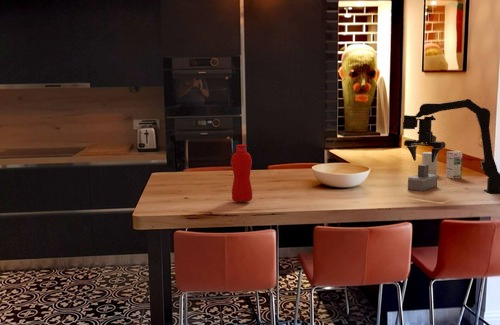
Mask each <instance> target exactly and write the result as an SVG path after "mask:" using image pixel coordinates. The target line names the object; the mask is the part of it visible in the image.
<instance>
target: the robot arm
mask: <svg viewBox="0 0 500 325" xmlns="http://www.w3.org/2000/svg"><path fill="white" fill-rule="evenodd" d="M464 108H465V109H468V110H469V111H471V112H472V113H473V114H475V117H476V120H477V123H478V126H479V129H480V137H481V144H482V153H483V159H482V160H480V162H479V163H480V164H481V167H480V169H481V172H483V173H484V175H485V176H487V182H486V184H487V185H486V189H483V191H484V192H486V193H488V194H500V172H499V171H498V166H497V164H496V162H495V159H494V154H493V147H492V146H493V145H492V140H491V131H490V124H491V122H490V121H491V111H490V110H489V109H488V108H486V107H481V106H480V105H478V104H476V103H475V102H473V101H472V100H471V99H470V98H465V99H460V100H454V101H448V102H440V103H435V102H433V103H430V102H426V103H422V104H421V105H420V107H419V111H418V112H417V113H416V114H415V115H409V114H408V115H407V114H404V115H403V121H402V129H403V130H415V129H416V128H418V131H417V135H418V139H410V138H409V139H405V140H404V142H403V146H405V147H406V148H407V149H408V151H409V152H410V154H411V158H412V160H413V161H414V162H416V160H417V148H418V146H422V147H423V146H424V147H432V148H431V152H432V163H433V162H434V160H435V158H436V155H437V156H438V153H439V152H440V150H443V149H445V148H446V143H445V141H439V140H437V136H436V135H433V131H432V122H433V121H436V120H437V119H436V117H434V115H433V114H436V113H439V112H442V111H450V110H458V109H464ZM430 115H431V116H430ZM423 116H424V118H422V117H423Z"/></svg>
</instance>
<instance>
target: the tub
mask: <svg viewBox="0 0 500 325" xmlns="http://www.w3.org/2000/svg"><path fill="white" fill-rule="evenodd" d="M437 187H438V177H435V178H432V179H429V180H425V181H416V180H408V179H407V190H408V191H413V192H414V191H415V192H421V193H422V192H425V191H428V190H431V189H435V188H437Z"/></svg>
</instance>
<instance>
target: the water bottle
mask: <svg viewBox="0 0 500 325" xmlns="http://www.w3.org/2000/svg"><path fill="white" fill-rule="evenodd" d="M235 148H236V151H235V152H234V153H233V154H232V156H231V162H230V164H231V168H232V174H233V180H232V181H233V182H232V187H231V199H232V201H233V202H236V203H237V202H250V201H253V187H252V184H251V179H250V178H251V171H252V164H253V161H252V155H251V154H250V153H249V152H248V151H247V145H246V144H236V147H235Z"/></svg>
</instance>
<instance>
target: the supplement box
mask: <svg viewBox="0 0 500 325" xmlns="http://www.w3.org/2000/svg"><path fill="white" fill-rule="evenodd" d="M421 164H427V165H429V170H428V174H434V175H438V174H437V173H438V172H437V170H438V154H437V155H436V158H435V160H434V162H433V163H432V151H422V153H421Z"/></svg>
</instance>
